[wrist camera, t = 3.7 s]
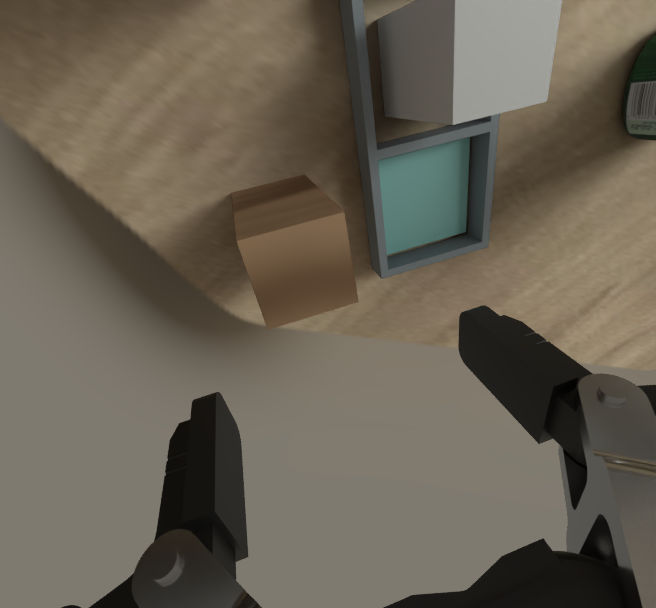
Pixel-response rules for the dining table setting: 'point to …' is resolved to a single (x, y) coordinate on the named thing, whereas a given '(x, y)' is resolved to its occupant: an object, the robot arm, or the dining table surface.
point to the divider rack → (442, 116)
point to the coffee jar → (642, 95)
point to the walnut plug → (294, 249)
